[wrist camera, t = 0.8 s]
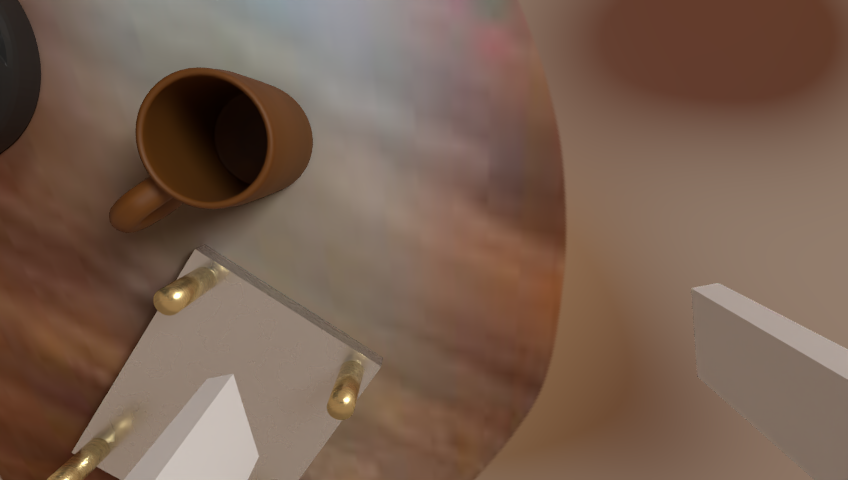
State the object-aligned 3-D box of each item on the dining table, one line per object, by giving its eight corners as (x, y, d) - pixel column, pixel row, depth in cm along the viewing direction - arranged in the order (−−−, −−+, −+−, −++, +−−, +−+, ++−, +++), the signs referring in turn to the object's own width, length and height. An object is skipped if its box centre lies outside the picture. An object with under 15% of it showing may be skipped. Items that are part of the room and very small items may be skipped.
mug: (214, 249, 36) (143, 287, 27) (143, 168, 35) (42, 179, 26) (337, 148, 35) (306, 153, 26) (267, 60, 34) (207, 31, 24)
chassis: (84, 440, 40) (19, 498, 33) (204, 244, 36) (157, 267, 30) (253, 535, 42) (222, 608, 35) (382, 357, 38) (374, 402, 32)
